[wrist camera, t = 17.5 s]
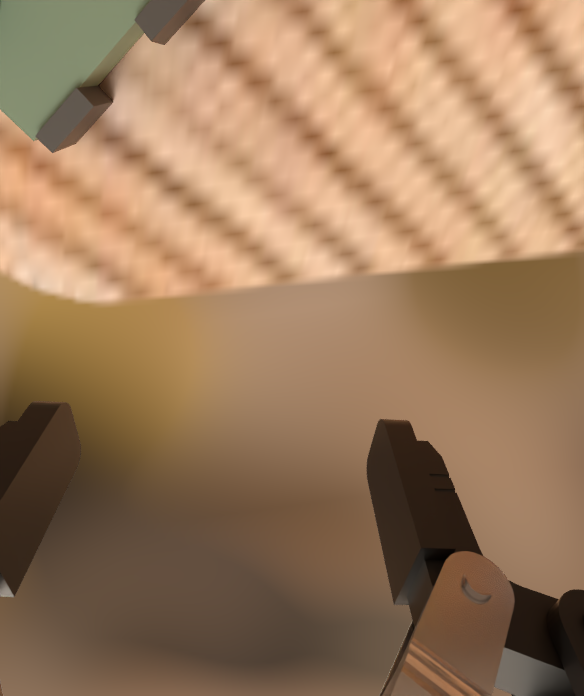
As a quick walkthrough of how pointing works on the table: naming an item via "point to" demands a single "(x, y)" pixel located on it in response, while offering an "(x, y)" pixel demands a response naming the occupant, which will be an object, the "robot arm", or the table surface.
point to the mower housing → (72, 58)
